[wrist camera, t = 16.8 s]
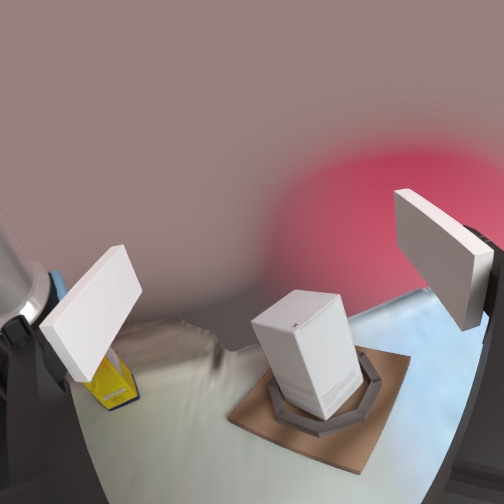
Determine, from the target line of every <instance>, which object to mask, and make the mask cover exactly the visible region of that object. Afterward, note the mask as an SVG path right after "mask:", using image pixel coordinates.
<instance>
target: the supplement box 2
mask: <svg viewBox="0 0 504 504" xmlns="http://www.w3.org/2000/svg"><path fill="white" fill-rule="evenodd" d="M251 324H252V326H253V329H254V331H255V333H256V336H257V338H258V340H259V343H260V345H261V347H262V349H263V351H264V354H265V356H266V358H267V360H268V362H269V365H270V367H271V369H272V371H273V373H274V376H275V378H276V380H277V382H278V384H279V387H280V389H281V391H282V393H283V396H284V398H285V400H286V402H288V403H290V404H292V405H294V406H296V407H298V408H300V409H302V410H304V411H306V412H308V413H311V414H313V415H315V416H317V417H319V418H321V419H323V420H327V419H328V418H330V417H331V416H332V415H333V414H334V413H335V412H336V411H337V410H338V409H339V408H340V407H341V406H342V405H343V403H344V402H345V401H346V400H347V399H348V398H349V397H350V396H351V395H352V394H353V393H354V392H355V391H356V390H357V389H358V388H359V386H360V385H361V384H362V383H363V377H362V373H361V369H360V365H359V361H358V358H357V354H356V350H355V346H354V343H353V339H352V335H351V332H350V328H349V325H348V321H347V317H346V314H345V311H344V308H343V304H342V300H341V297H340V295H339V294H330V293H320V292H311V291H302V290H294V291H293V292H291V293H289V294H288V295H287V296H285V297H284V298H282V299H281V300H280V301H278V302H277V303H275V304H274V305H273V306H271V307H270V308H268V309H267V310H266V311H264V312H263V313H262V314H260V315H259V316H258V317H256V318H255V319H253V320H251Z"/></svg>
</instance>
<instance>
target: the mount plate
mask: <svg viewBox="0 0 504 504" xmlns="http://www.w3.org/2000/svg"><path fill="white" fill-rule="evenodd" d="M354 346H355V345H354ZM355 350H356V354H357V358H358V361H359V365H360V369H361V373H362V377H363V383H362V384H361V385H360V386H359V388H358V389H357V390H356V391H355V392H354V393H353V394H352V395H351V396H350V397H349V398H348V399H347V400H346V401H345V402H344V403H343V405H342V406H341V407H340V408H339V409H338V410H337V411H336V412H335V413H334V414H333V415H332V416H331V417H330V418H328V419H327V420H323V419H321V418H319V417H317V416H315V415H313V414H311V413H308V412H306V411H304V410H302V409H300V408H298V407H296V406H294V405H292V404H290V403H288V402H286V400H285V398H284V396H283V393H282V391H281V389H280V387H279V384H278V382H277V380H276V378H275V376H274V373H273V371H272V369H271V368H270V369H269V370H268V371H267V373H266V374H265V375H264V376H263V377H262V378H261V380H260V381H259V382H258V383H257V384H256V385H255V387H254V388H253V389H252V390H251V391H250V392H249V394H248V395H247V396H246V397H245V398H244V399H243V400H242V402H241V403H240V404H239V405H238V406H237V407H236V408H235V409H234V410H233V412H232V413H231V414H230V415H229V416H228V419H229V421H230V422H231V423H233V424H235V425H237V426H239V427H241V428H243V429H245V430H247V431H249V432H251V433H253V434H255V435H257V436H259V437H262V438H264V439H266V440H268V441H270V442H273V443H275V444H277V445H280V446H282V447H284V448H287V449H289V450H291V451H294V452H296V453H299V454H301V455H304V456H306V457H309V458H312V459H314V460H317V461H320V462H322V463H325V464H328V465H331V466H334V467H336V468H339V469H342V470H345V471H348V472H352V473H355V474H358V475H360V474H361V472H362V470H363V468H364V466H365V465H366V463H367V461H368V459H369V457H370V455H371V453H372V451H373V449H374V447H375V445H376V443H377V441H378V439H379V437H380V435H381V433H382V430H383V428H384V426H385V424H386V422H387V419H388V417H389V415H390V412H391V410H392V408H393V405H394V403H395V401H396V398H397V396H398V393H399V391H400V388H401V385H402V383H403V380H404V378H405V375H406V372H407V369H408V367H409V364H410V359H411V356H405V355H400V354H395V353H389V352H384V351H379V350H374V349H369V348H364V347H360V346H355Z"/></svg>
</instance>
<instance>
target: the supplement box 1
mask: <svg viewBox="0 0 504 504" xmlns="http://www.w3.org/2000/svg"><path fill="white" fill-rule="evenodd" d="M82 383H83V384H84V385H85V386H86V387H87V389H88V390H89V391H90V392H91V393H92V394H93V395H94V396H95V397H96V398H97V399H98V400H99V401H100V402H101V403H102V404H103V405H104V406H105V407H106V408H107V409H108V410H109V411H112V410H115V409H117V408H120V407H122V406H125V405H127V404H129V403H131V402H133V401H135V400H137V399H139V398H140V397H139V393H138V390H137V386H136V383H135V380H134V376H133V374H132V373H131V372H130V371H129V369H128V368H127V367H126V366H125V364H124V363H123V362H122V360H121V359H120V358H119V357H118V355H117V354H116V353H115V351H114V350H113V349H112V347H111V346H110V347H109V348H108V350H107V352H106V354H105V355H104V357H103V359H102V361H101V363H100V364H99V366H98V368H97V370H96V372H95V374H94V375H93V377H92V379H91V381H90V383H88V382H82Z"/></svg>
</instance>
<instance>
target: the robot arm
mask: <svg viewBox="0 0 504 504" xmlns="http://www.w3.org/2000/svg"><path fill="white" fill-rule="evenodd" d="M394 197H395V212H396V231H397V246H398V247H399V249H400V250H401V251H402V252H403V253H404V255H405V256H406V257H407V258H408V260H409V261H410V262H411V263H412V265H413V266H414V267H415V268H416V270H417V271H418V272H419V273H420V275H421V276H422V277H423V278H424V280H425V281H426V282H427V284H428V285H429V286H430V288H431V289H432V290H433V292H434V293H435V294H436V296H437V297H438V298H439V300H440V301H441V303H442V304H443V305H444V307H445V308H446V309H447V311H448V312H449V314H450V315H451V316H452V318H453V319H454V321H455V322H456V324H457V325H458V327H459V328H460V329H461V331H462V332H463V331H466V330H469V329H471V328H474V327H477V326H480V323H481V319H482V315H483V311H485V313H486V314H487V315H488V316H489V321H488V325H487V329H486V332H485V336H484V339H483V342H482V344H483V348H482V352H481V356H480V360H479V364H478V367H477V371H476V375H475V378H474V381H473V385H472V388H471V391H470V394H469V397H468V400H467V403H466V406H465V409H464V412H463V415H462V417H461V420H460V423H459V425H458V428H457V430H456V433H455V435H454V438H453V440H452V443H451V445H450V447H449V449H448V452H447V454H446V456H445V458H444V460H443V463H442V465H441V467H440V469H439V471H438V473H437V475H436V477H435V479H434V481H433V483H432V485H431V486H430V488H429V490H428V492H427V494H426V496H425V497H424V499H423V501H422V503H421V504H504V251H503V250H501V249H500V248H499V247H498V246H496V245H495V244H494V243H493V242H491V241H489V239H487V238H486V237H484V236H483V235H482V234H480V233H479V232H478V231H477V230H475V229H473V228H470V227H468V226H465V225H463V226H462V225H461V224H459V223H458V222H457V221H455V220H454V219H453V218H451V217H450V216H448V215H447V214H446V213H444V212H443V211H441V210H440V209H439V208H437V207H436V206H434V205H433V204H431V203H430V202H428V201H427V200H425V199H424V198H422V197H421V196H419V195H418V194H416V193H415V192H413V191H412V190H410V189H403V190H397V191H394ZM141 293H142V289H141V286H140V284H139V282H138V279H137V277H136V275H135V272H134V270H133V267H132V265H131V263H130V260H129V258H128V255H127V253H126V250H125V248H124V245H118V246H114V247H111V248H110V249H109V250H108V251H107V252H106V253H105V254H104V255H103V256H102V257H101V258H100V259H99V260H98V261H97V262H96V263H95V264H94V265H93V266H92V267H91V269H90V270H89V271H88V272H87V273H86V274H85V275H84V276H83V277H82V278H81V279H80V280H79V281H78V282H77V283H76V284H75V286H74V287H73V288H72V289H71V290H70V291H69V292H68V290H67V288H66V285H65V282H64V279H63V277H62V274H61V272H60V271H59V270H54V271H52V270H51V271H49V272H48V273H47V271H46V269H45V268H44V267H43V266H42V265H41V264H40V263H38V262H37V261H34V260H29V259H26V257H25V256H24V254H23V252H22V250H21V249H20V247H19V245H18V243H17V242H16V240H15V238H14V236H13V234H12V233H11V230H10V228H9V226H8V225H7V223H6V221H5V219H4V217H3V215H2V213H1V211H0V504H109V502H108V500H107V498H106V496H105V493H104V491H103V489H102V486H101V484H100V481H99V479H98V476H97V474H96V471H95V469H94V466H93V463H92V461H91V458H90V455H89V452H88V449H87V446H86V443H85V440H84V437H83V434H82V431H81V427H80V424H79V421H78V417H77V413H76V410H75V406H74V402H73V398H72V394H71V390H70V386H69V383H68V381H67V380H66V379H65V377H64V376H65V375H66V373H67V371H68V372H69V373H70V375H71V376H72V377H73V379H74V380H75V381H76V382H88V383H90V381H91V379H92V377H93V375H94V374H95V372H96V370H97V368H98V366H99V364H100V363H101V361H102V359H103V357H104V355H105V354H106V352H107V350H108V348H109V347H110V345H111V343H112V341H113V340H114V338H115V336H116V334H117V333H118V331H119V329H120V327H121V326H122V324H123V322H124V321H125V319H126V317H127V316H128V314H129V312H130V311H131V309H132V307H133V306H134V303H135V302H136V301H137V299H138V297H139V296H140V294H141Z"/></svg>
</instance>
